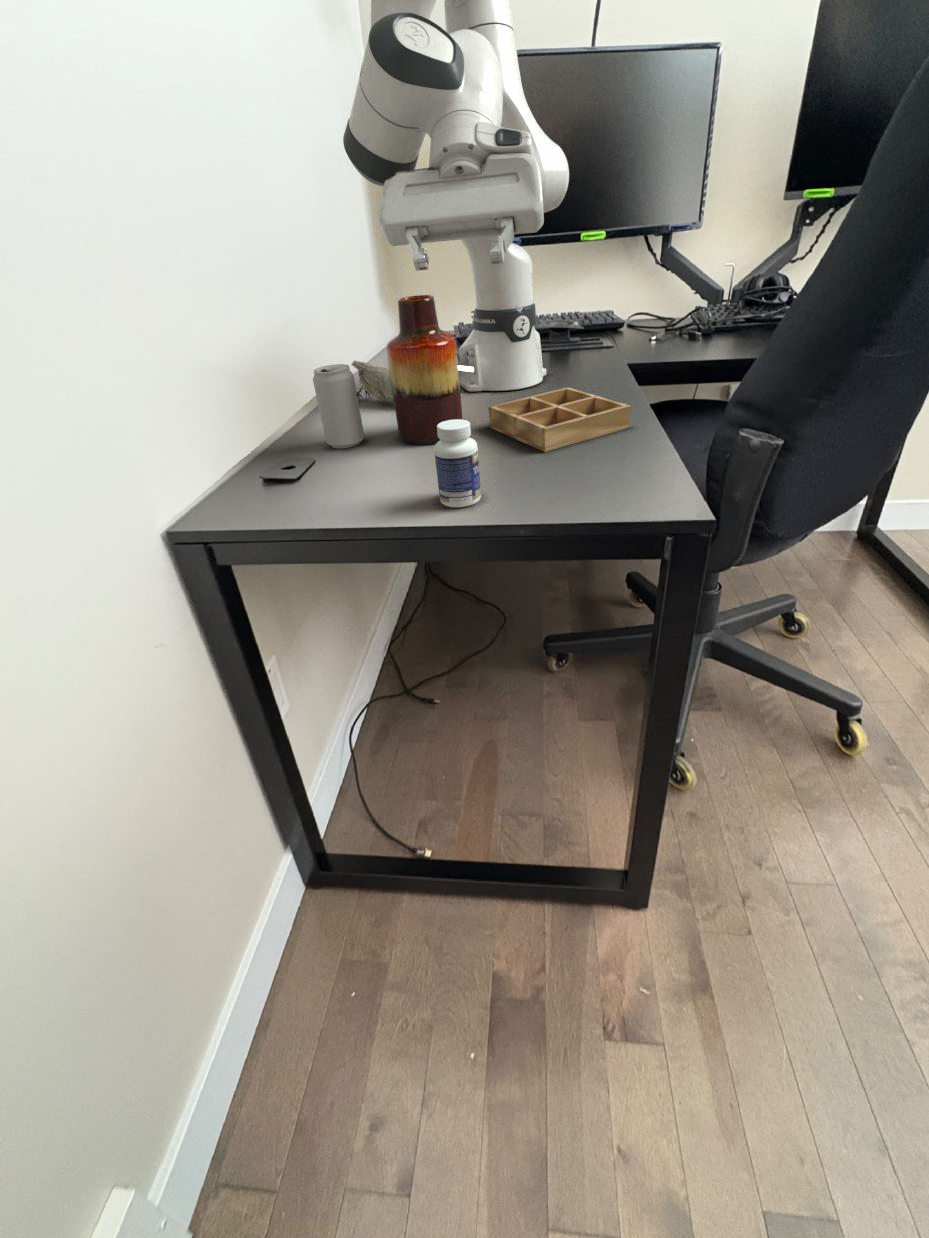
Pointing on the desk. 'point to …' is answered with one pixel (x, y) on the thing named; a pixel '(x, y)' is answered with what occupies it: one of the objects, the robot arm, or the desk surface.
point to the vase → (423, 372)
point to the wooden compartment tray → (559, 418)
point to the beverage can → (338, 405)
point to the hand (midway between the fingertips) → (458, 263)
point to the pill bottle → (457, 464)
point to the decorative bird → (375, 381)
